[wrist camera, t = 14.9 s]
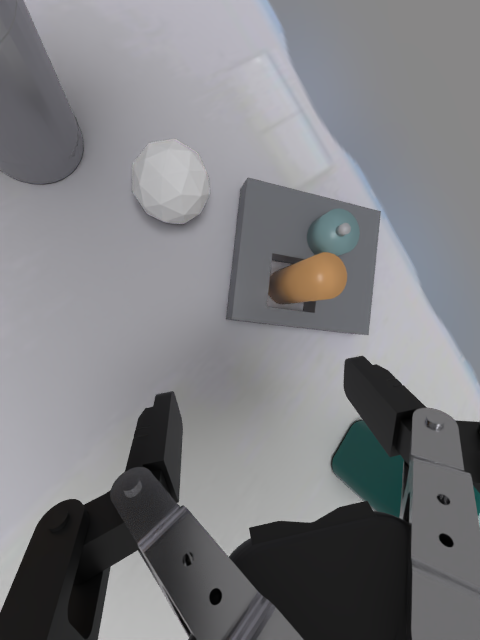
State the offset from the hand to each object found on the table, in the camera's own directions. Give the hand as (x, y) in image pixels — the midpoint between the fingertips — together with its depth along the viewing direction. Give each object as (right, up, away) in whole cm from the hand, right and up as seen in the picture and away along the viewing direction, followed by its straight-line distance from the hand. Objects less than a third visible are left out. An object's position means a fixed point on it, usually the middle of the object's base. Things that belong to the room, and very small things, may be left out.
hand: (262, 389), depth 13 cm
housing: (+7, +10, +24) cm, 27 cm away
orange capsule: (+4, +7, +23) cm, 25 cm away
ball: (-9, +17, +20) cm, 28 cm away
